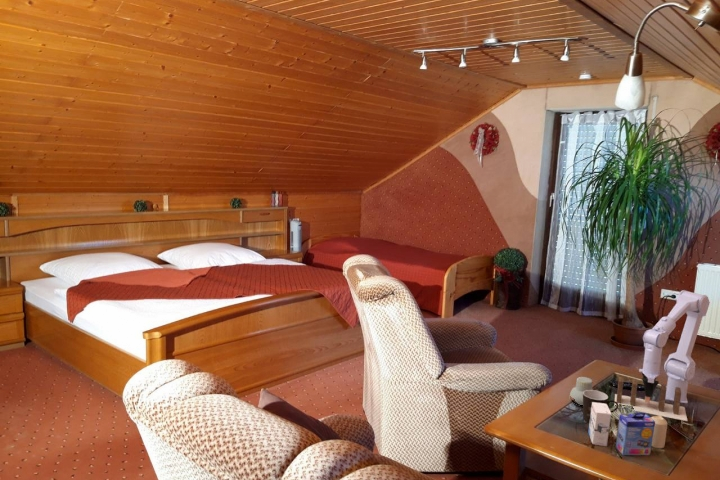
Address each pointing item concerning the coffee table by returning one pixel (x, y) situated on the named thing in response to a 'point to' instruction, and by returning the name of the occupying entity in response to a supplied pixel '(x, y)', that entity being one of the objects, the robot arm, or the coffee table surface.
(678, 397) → the tile
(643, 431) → the ink cartridge box
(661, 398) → the tile
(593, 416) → the ink box
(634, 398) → the tile
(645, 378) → the robot arm
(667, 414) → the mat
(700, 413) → the coffee table surface
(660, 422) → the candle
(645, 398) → the tile
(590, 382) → the air freshener
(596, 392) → the coffee mug
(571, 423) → the coffee table surface
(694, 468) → the coffee table surface
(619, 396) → the tile
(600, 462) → the coffee table surface
